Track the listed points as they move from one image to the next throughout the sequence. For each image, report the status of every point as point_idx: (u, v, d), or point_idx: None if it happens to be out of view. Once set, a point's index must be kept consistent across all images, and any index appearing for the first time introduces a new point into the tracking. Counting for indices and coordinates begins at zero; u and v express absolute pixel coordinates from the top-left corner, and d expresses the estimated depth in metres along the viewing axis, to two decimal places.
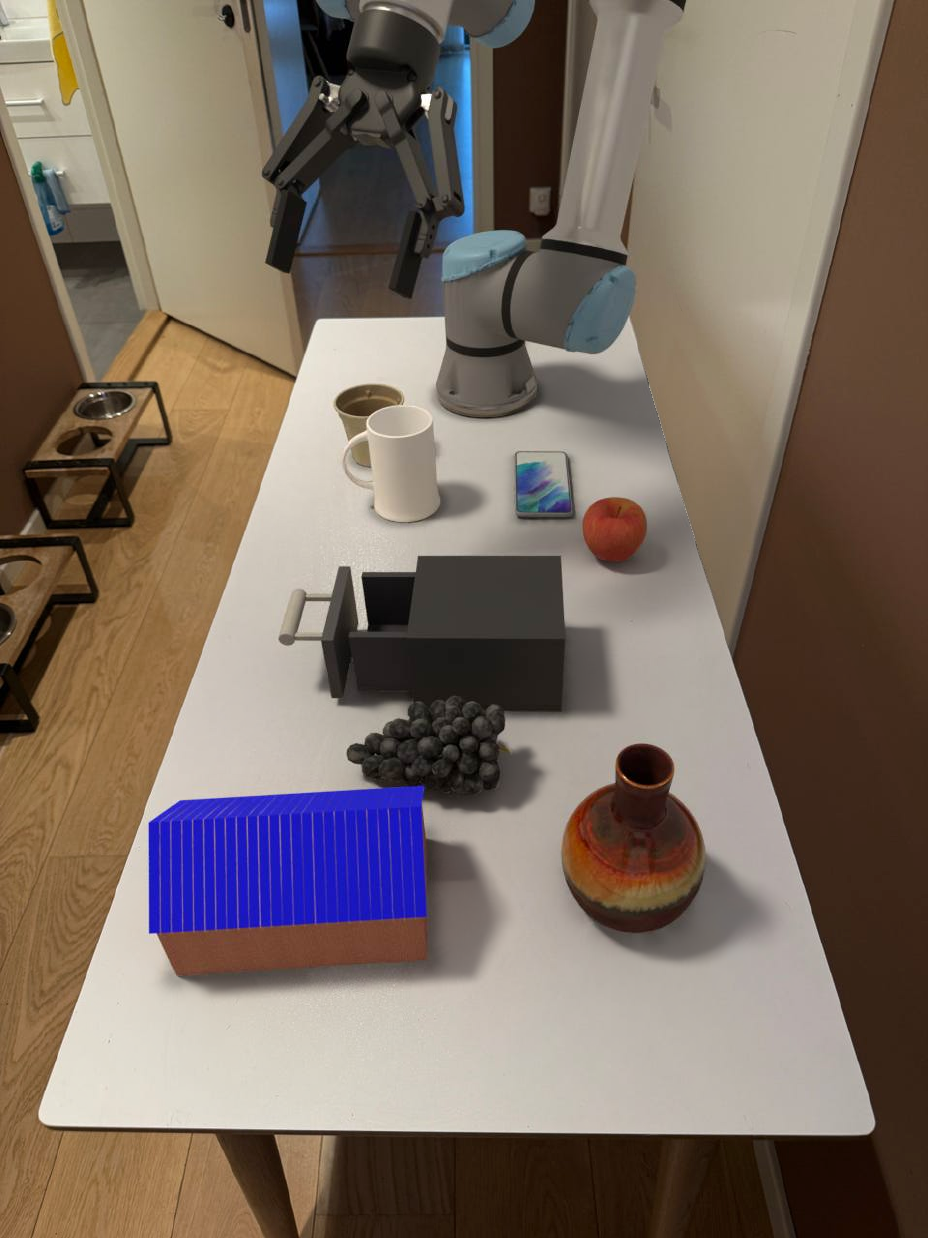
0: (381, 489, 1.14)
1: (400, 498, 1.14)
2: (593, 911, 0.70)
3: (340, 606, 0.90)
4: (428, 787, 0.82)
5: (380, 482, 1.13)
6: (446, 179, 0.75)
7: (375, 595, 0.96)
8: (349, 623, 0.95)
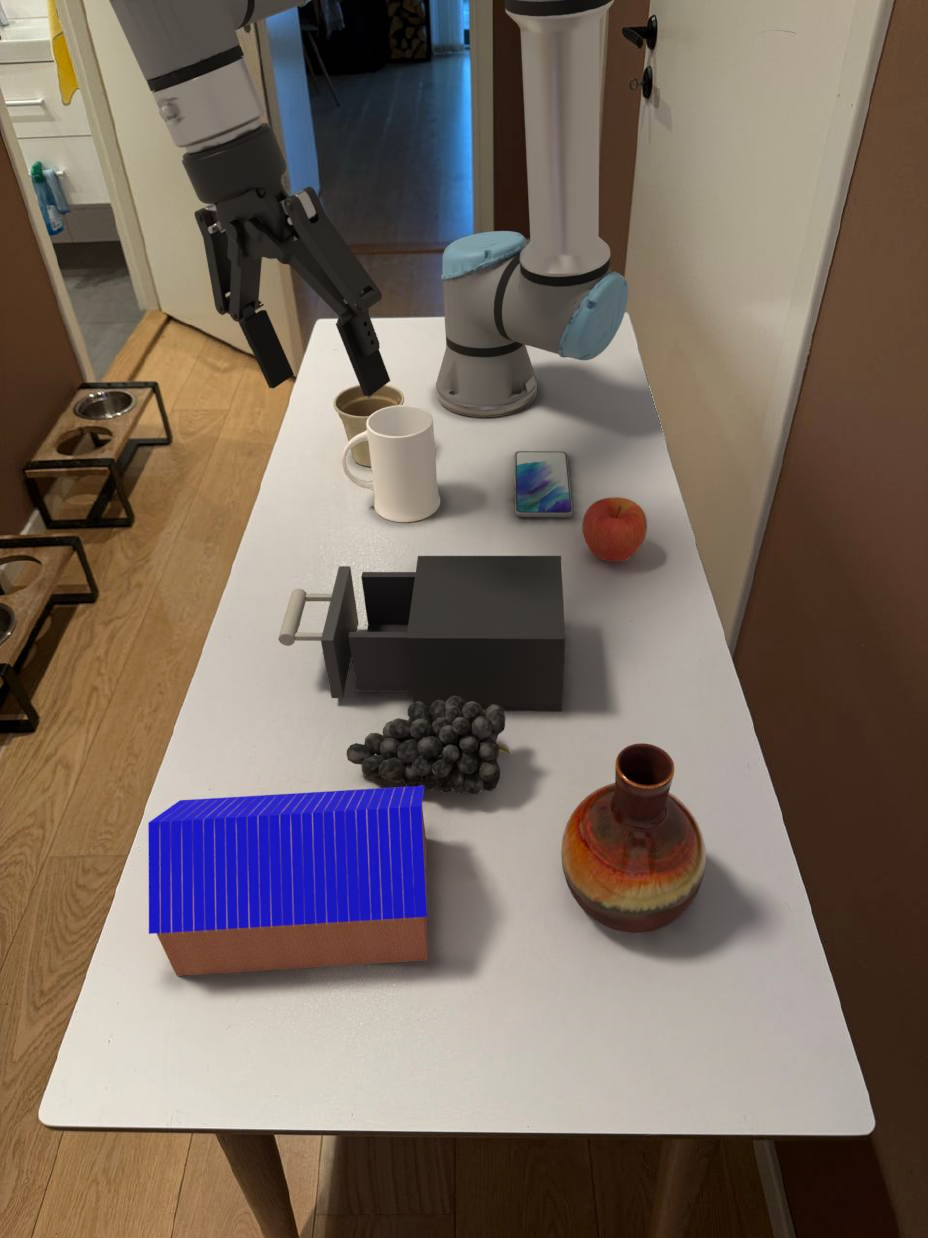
0: (381, 489, 1.14)
1: (400, 498, 1.14)
2: (593, 911, 0.70)
3: (340, 606, 0.90)
4: (428, 787, 0.82)
5: (380, 482, 1.13)
6: (346, 288, 0.72)
7: (375, 595, 0.96)
8: (349, 623, 0.95)
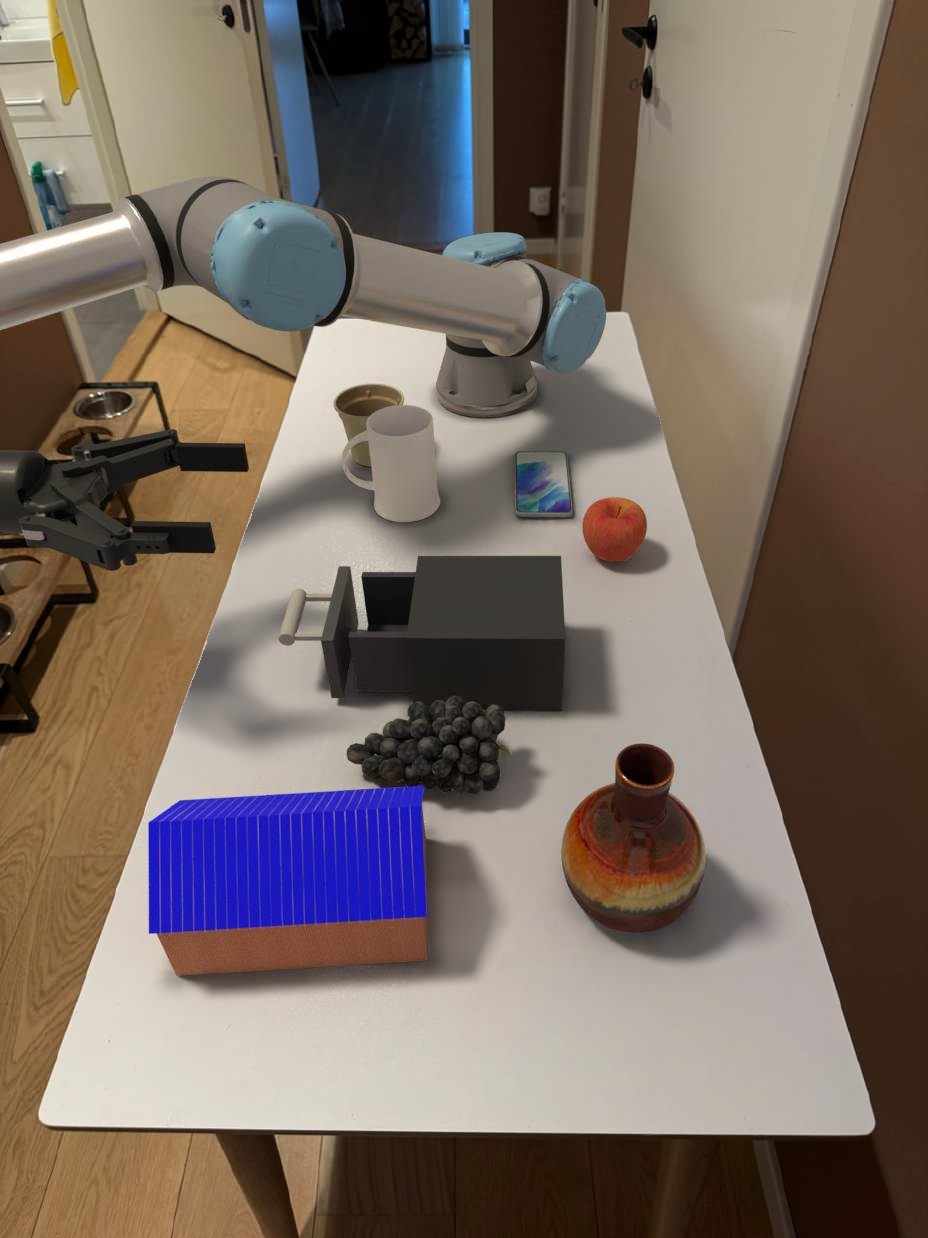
0: (381, 489, 1.14)
1: (400, 498, 1.14)
2: (593, 911, 0.70)
3: (340, 606, 0.90)
4: (428, 787, 0.82)
5: (380, 482, 1.13)
6: None
7: (375, 595, 0.96)
8: (349, 623, 0.95)
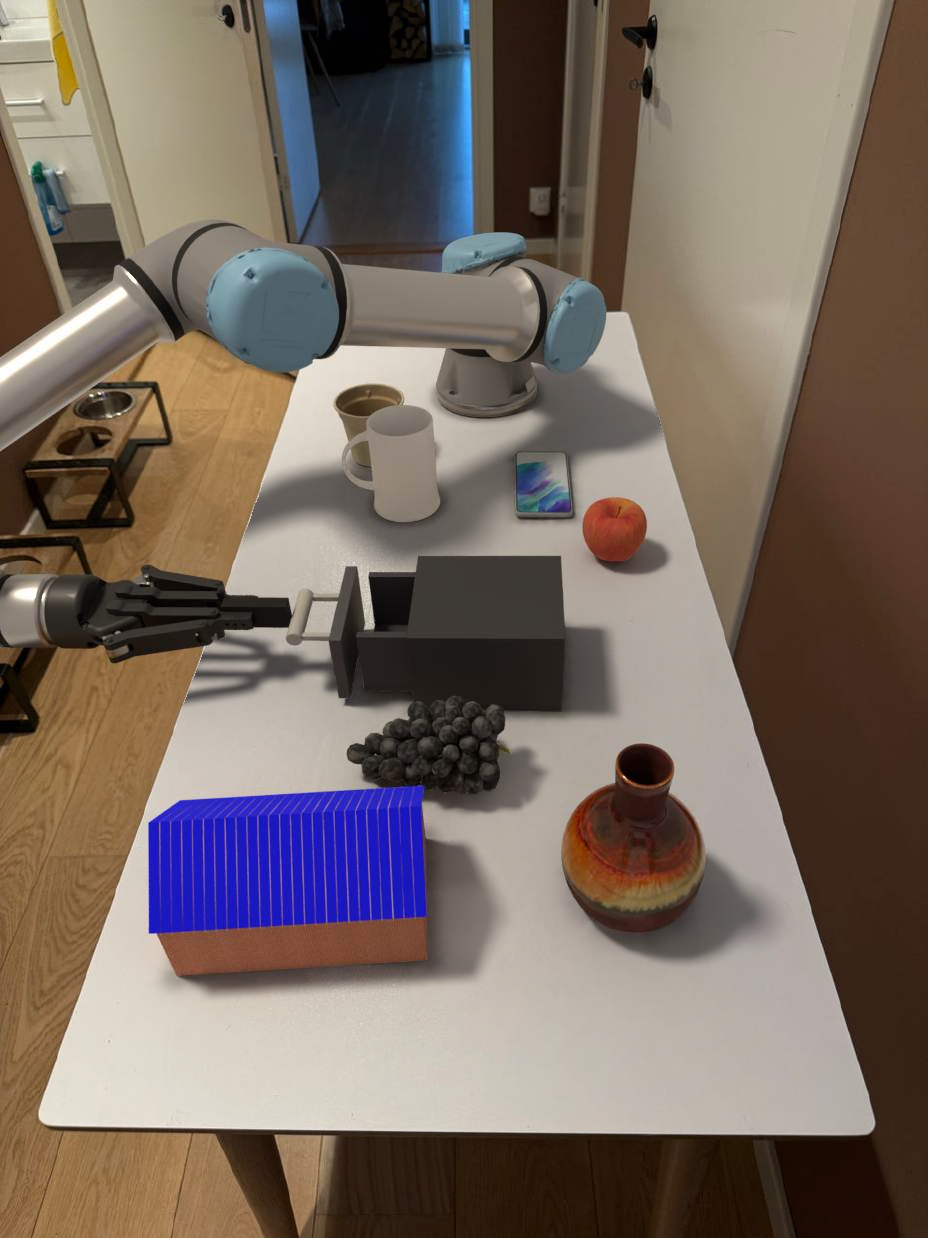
0: (381, 489, 1.14)
1: (400, 498, 1.14)
2: (593, 911, 0.70)
3: (347, 606, 0.90)
4: (428, 787, 0.82)
5: (380, 482, 1.13)
6: None
7: (382, 595, 0.96)
8: (356, 623, 0.95)
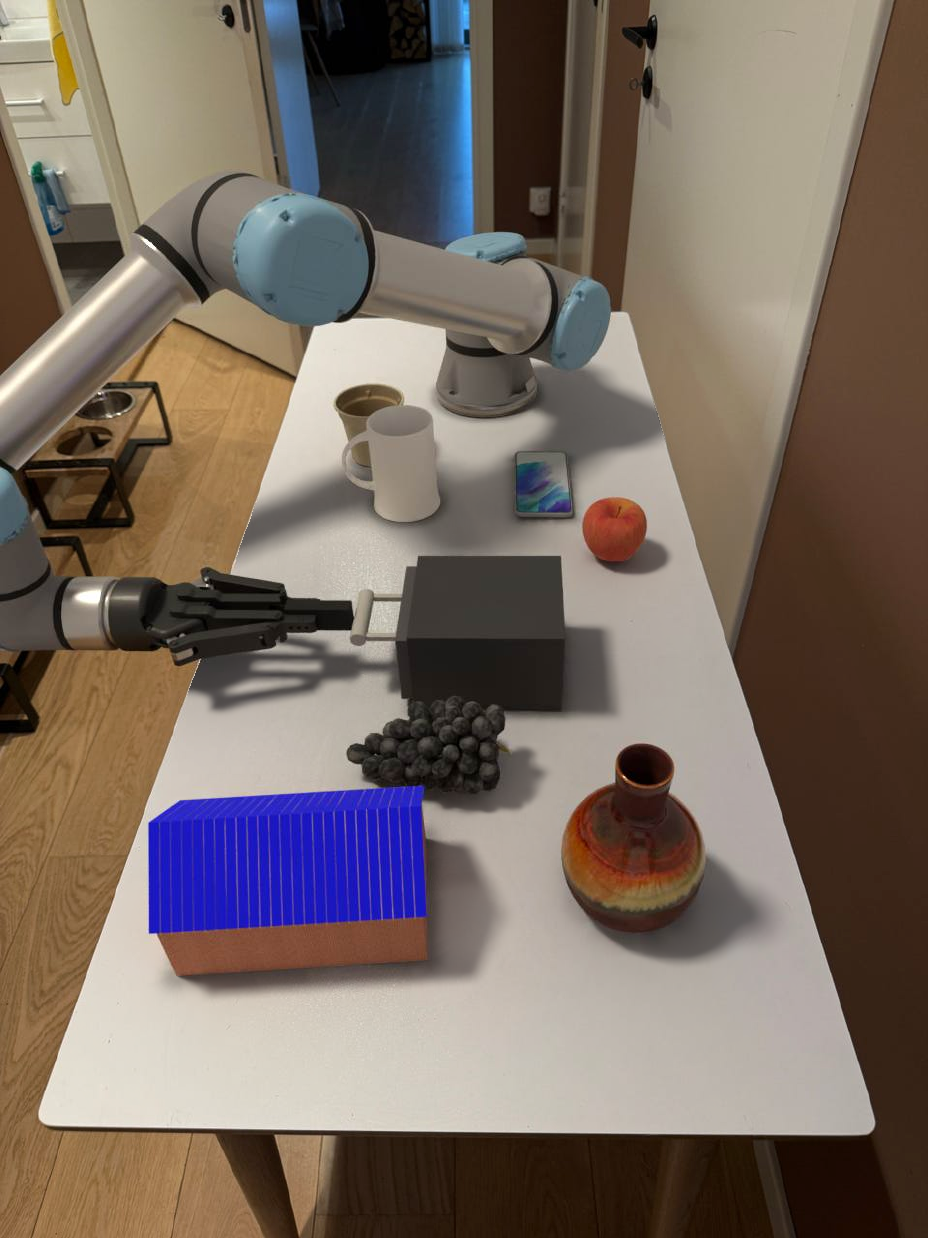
0: (381, 489, 1.14)
1: (400, 498, 1.14)
2: (593, 911, 0.70)
3: None
4: (428, 787, 0.82)
5: (380, 482, 1.13)
6: None
7: None
8: None
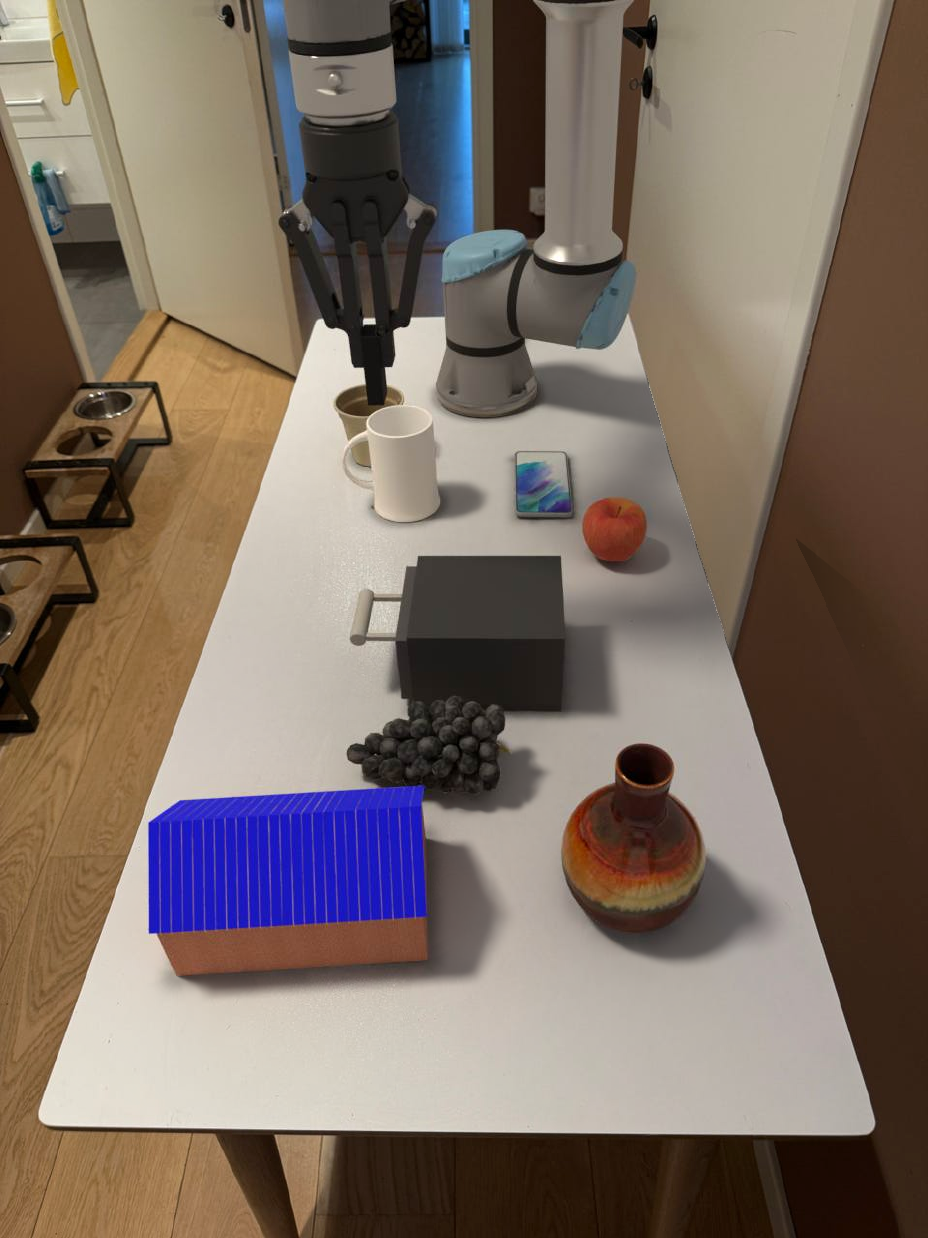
0: (381, 489, 1.14)
1: (400, 498, 1.14)
2: (593, 911, 0.70)
3: None
4: (428, 787, 0.82)
5: (380, 482, 1.13)
6: (409, 305, 0.78)
7: None
8: None
